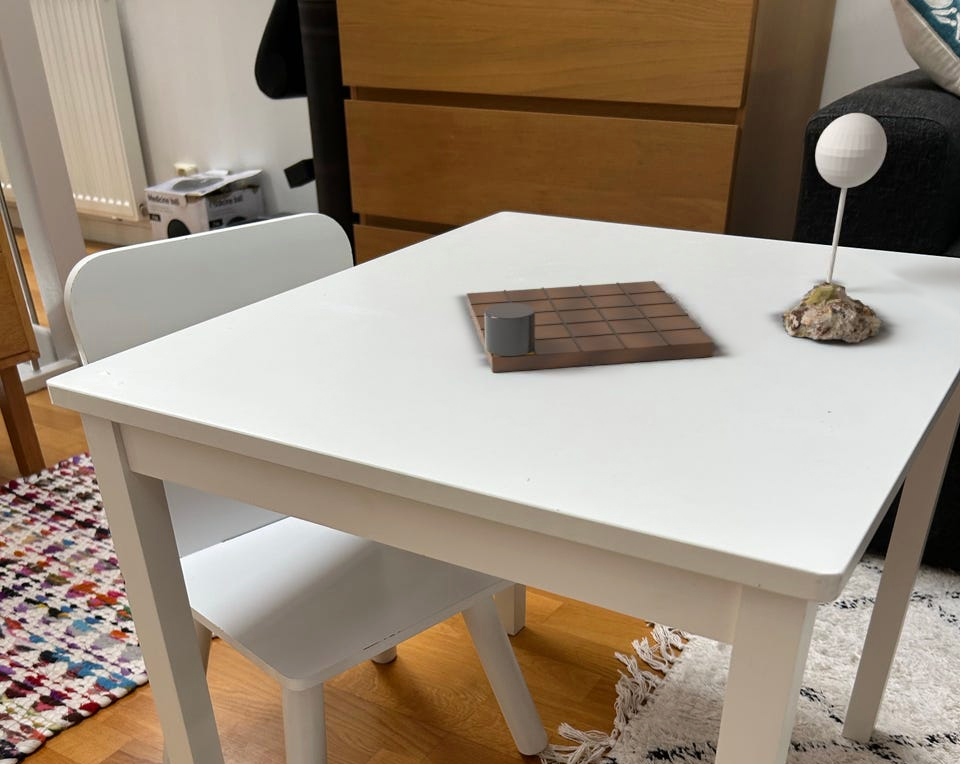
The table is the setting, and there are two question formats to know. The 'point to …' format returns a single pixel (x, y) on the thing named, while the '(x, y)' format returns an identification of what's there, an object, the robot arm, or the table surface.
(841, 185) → the lollipop
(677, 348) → the board
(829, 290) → the mineral rock
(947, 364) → the table surface
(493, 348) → the dark grey cylinder
